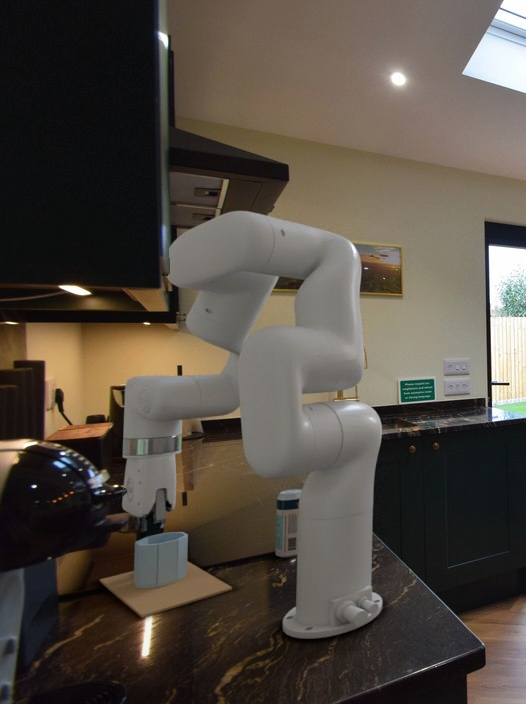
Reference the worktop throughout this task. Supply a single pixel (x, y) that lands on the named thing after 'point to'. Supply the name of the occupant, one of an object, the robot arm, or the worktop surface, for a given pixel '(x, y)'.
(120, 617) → the worktop surface
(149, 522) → the robot arm
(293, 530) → the white labelled bottle
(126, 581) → the cork mat
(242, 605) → the worktop surface
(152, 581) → the pale-blue faceted part
